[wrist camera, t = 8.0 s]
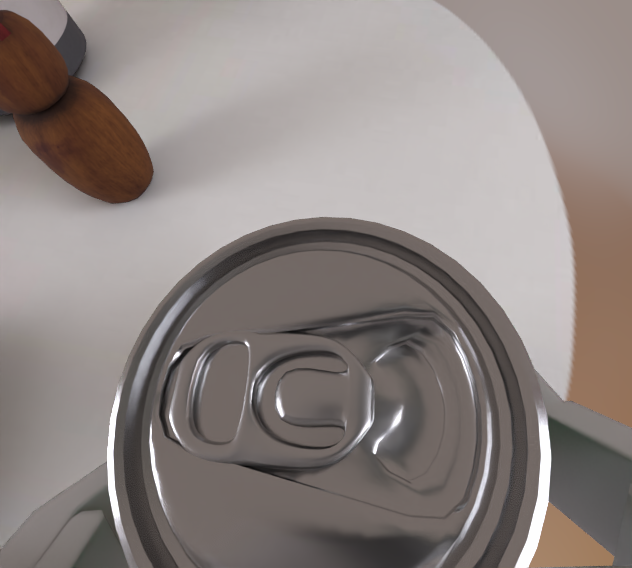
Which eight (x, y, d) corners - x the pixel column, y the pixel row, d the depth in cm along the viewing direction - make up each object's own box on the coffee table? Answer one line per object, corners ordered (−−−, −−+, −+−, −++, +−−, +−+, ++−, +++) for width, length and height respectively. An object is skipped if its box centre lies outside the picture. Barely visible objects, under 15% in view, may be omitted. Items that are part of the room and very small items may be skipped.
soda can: (429, 505, 13) (713, 904, 2) (296, 490, 14) (-22, 702, 3) (422, 367, 15) (545, 178, 4) (307, 362, 16) (145, 197, 5)
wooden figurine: (79, 183, 27) (-215, -62, 14) (137, 139, 28) (-84, -131, 15) (119, 231, 25) (-196, -16, 11) (181, 180, 26) (-39, -104, 12)
